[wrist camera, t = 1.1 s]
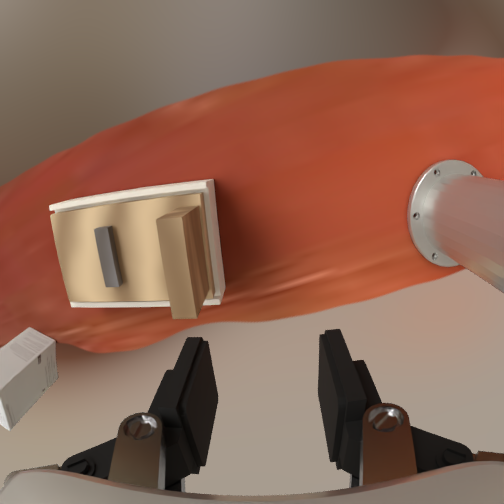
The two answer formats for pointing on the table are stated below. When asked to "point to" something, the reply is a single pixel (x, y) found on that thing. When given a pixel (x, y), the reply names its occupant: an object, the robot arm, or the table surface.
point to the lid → (138, 252)
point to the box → (155, 192)
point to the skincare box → (25, 374)
